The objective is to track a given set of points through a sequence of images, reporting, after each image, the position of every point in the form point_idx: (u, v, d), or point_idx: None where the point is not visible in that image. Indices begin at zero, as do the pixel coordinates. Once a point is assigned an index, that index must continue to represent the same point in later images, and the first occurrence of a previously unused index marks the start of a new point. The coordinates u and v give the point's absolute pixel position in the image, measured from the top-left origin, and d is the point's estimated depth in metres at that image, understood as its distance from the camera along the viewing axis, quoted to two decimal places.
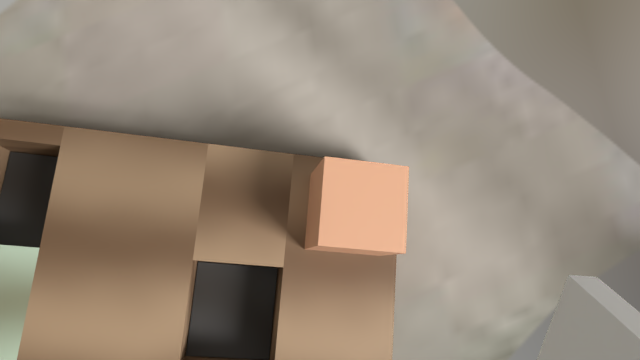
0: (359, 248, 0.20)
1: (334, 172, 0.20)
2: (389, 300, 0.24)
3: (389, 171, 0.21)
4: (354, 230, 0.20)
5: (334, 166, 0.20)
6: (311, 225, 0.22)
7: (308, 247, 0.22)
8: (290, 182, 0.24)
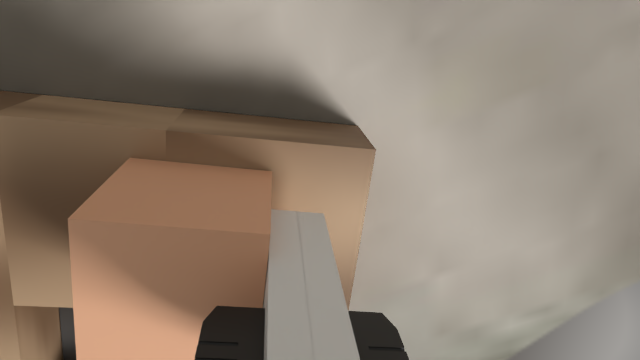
0: None
1: (95, 251, 0.09)
2: None
3: (224, 245, 0.09)
4: (150, 352, 0.10)
5: (94, 238, 0.09)
6: None
7: None
8: None
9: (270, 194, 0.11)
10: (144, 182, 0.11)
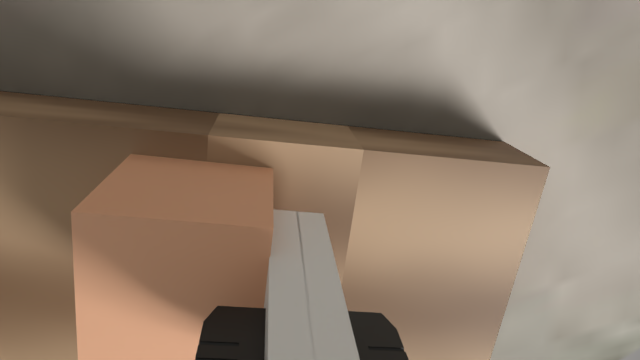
0: None
1: (98, 244, 0.09)
2: (484, 353, 0.16)
3: (227, 239, 0.09)
4: (152, 347, 0.10)
5: (98, 232, 0.09)
6: None
7: None
8: (354, 198, 0.14)
9: (272, 190, 0.11)
10: (146, 177, 0.11)
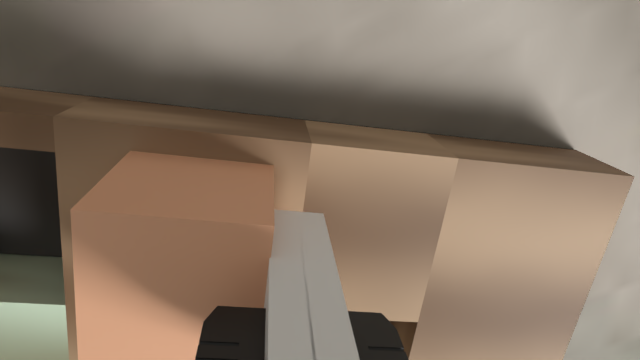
0: None
1: (98, 242, 0.09)
2: (556, 357, 0.17)
3: (228, 237, 0.09)
4: (152, 345, 0.10)
5: (97, 229, 0.09)
6: None
7: None
8: (445, 205, 0.14)
9: (272, 187, 0.11)
10: (146, 175, 0.11)
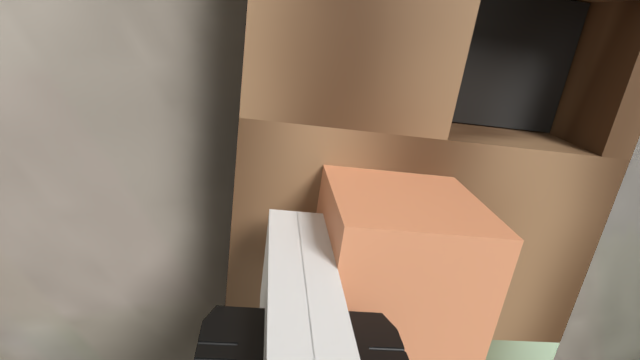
0: (495, 320, 0.11)
1: None
2: None
3: (353, 267, 0.10)
4: (463, 329, 0.10)
5: None
6: None
7: None
8: None
9: (330, 188, 0.11)
10: None
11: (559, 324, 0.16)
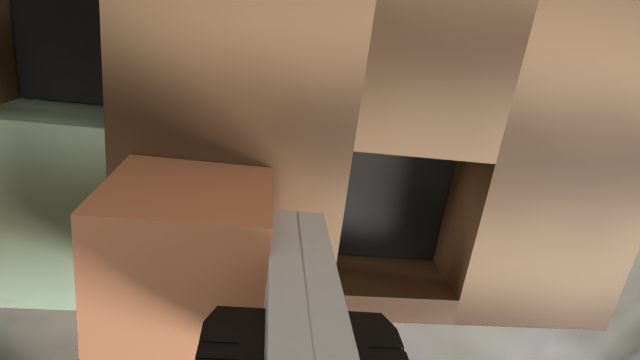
0: None
1: (98, 246, 0.09)
2: None
3: (226, 240, 0.09)
4: (152, 348, 0.10)
5: (97, 233, 0.09)
6: None
7: None
8: (534, 12, 0.12)
9: (271, 190, 0.11)
10: (145, 178, 0.11)
11: None
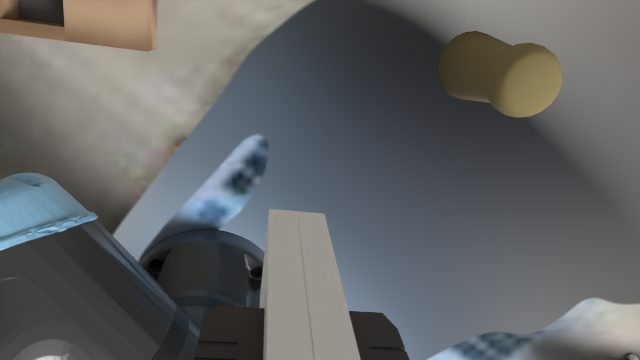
0: None
1: None
2: None
3: None
4: None
5: None
6: None
7: None
8: None
9: None
10: None
11: None
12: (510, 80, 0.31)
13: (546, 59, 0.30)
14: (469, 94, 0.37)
